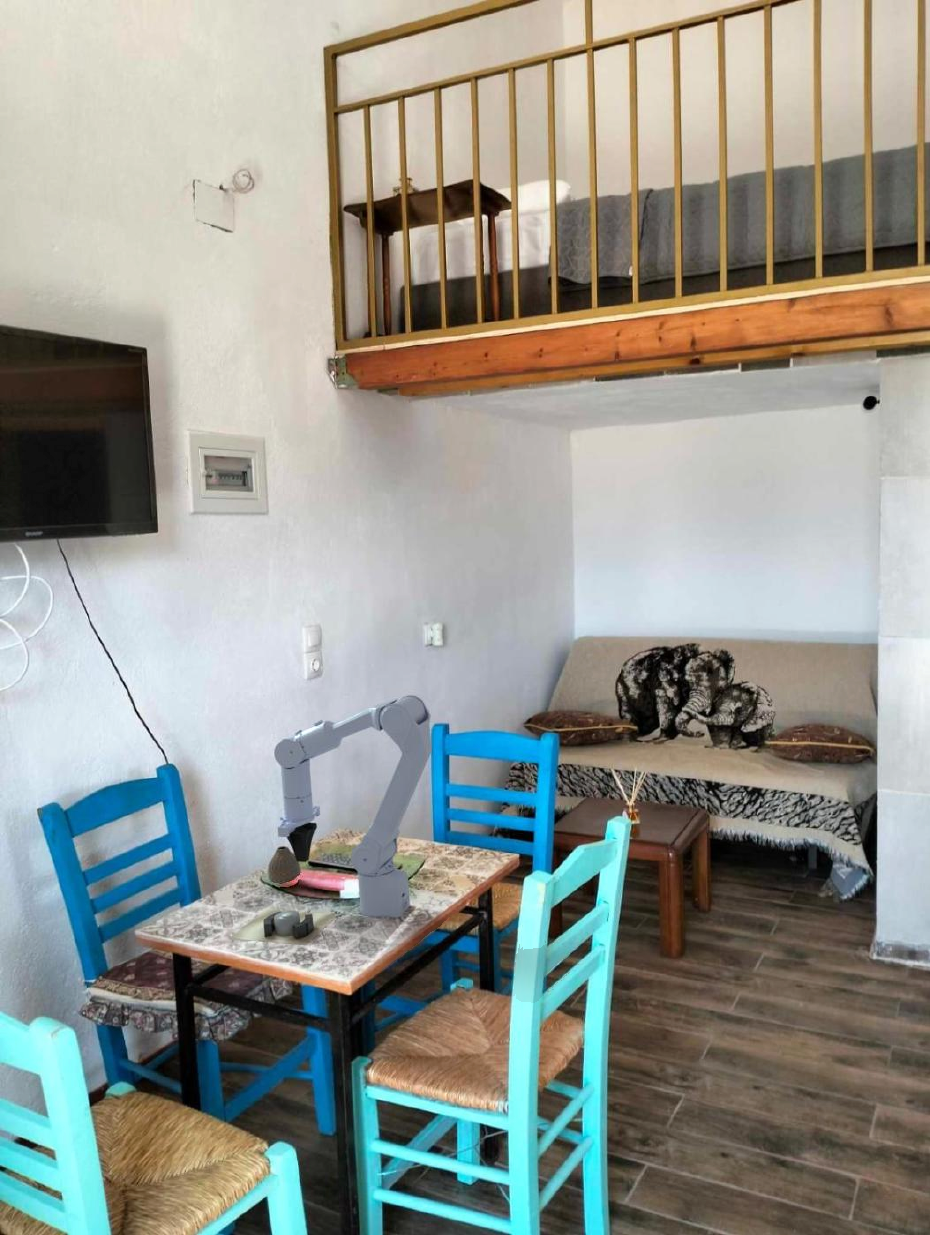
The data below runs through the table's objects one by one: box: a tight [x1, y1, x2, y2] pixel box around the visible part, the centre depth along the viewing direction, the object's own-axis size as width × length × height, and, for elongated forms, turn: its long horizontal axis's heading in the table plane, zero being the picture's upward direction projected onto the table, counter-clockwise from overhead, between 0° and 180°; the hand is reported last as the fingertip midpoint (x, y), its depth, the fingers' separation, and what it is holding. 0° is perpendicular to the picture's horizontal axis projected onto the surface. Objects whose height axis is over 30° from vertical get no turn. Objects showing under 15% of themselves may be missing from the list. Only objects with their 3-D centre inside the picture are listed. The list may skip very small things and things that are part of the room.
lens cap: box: [274, 910, 300, 936], centre depth 188 cm, size 5×5×3 cm
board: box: [228, 909, 339, 946], centre depth 191 cm, size 16×14×1 cm
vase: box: [267, 845, 302, 884], centre depth 214 cm, size 7×7×9 cm
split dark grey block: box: [263, 912, 314, 940], centre depth 188 cm, size 9×6×2 cm
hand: (302, 860), depth 201 cm, fingers closed
